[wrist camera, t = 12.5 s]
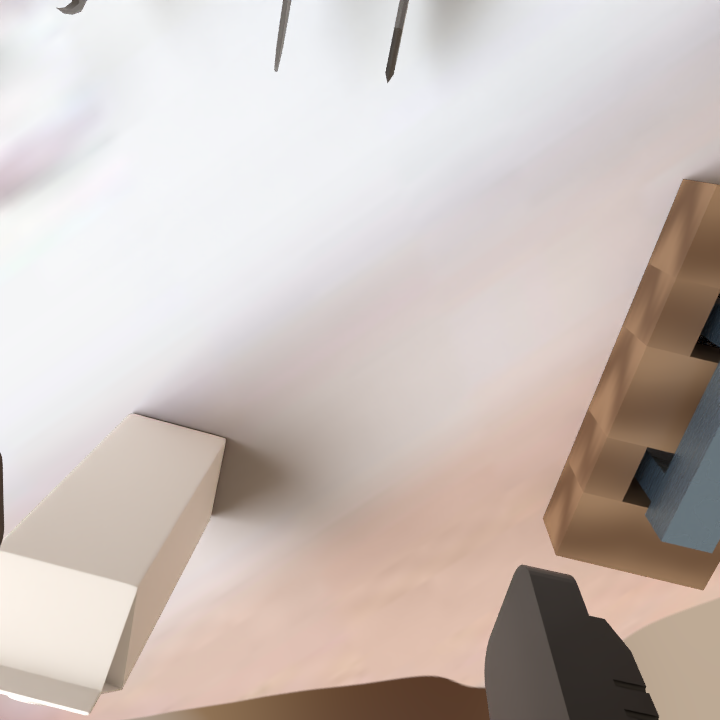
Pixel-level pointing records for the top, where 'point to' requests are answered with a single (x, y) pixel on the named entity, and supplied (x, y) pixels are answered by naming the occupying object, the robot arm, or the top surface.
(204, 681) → the top surface
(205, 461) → the milk carton
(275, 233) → the top surface
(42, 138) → the top surface
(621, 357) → the socket block
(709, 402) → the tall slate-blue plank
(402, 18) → the knife set
